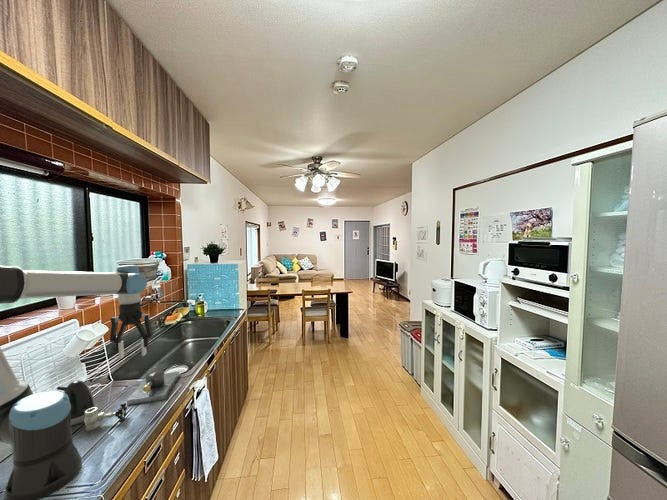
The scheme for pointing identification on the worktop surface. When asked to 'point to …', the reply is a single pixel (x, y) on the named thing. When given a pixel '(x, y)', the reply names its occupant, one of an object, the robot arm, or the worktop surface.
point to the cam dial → (153, 379)
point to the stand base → (153, 390)
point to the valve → (102, 416)
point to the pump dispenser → (78, 400)
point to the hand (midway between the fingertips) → (133, 355)
